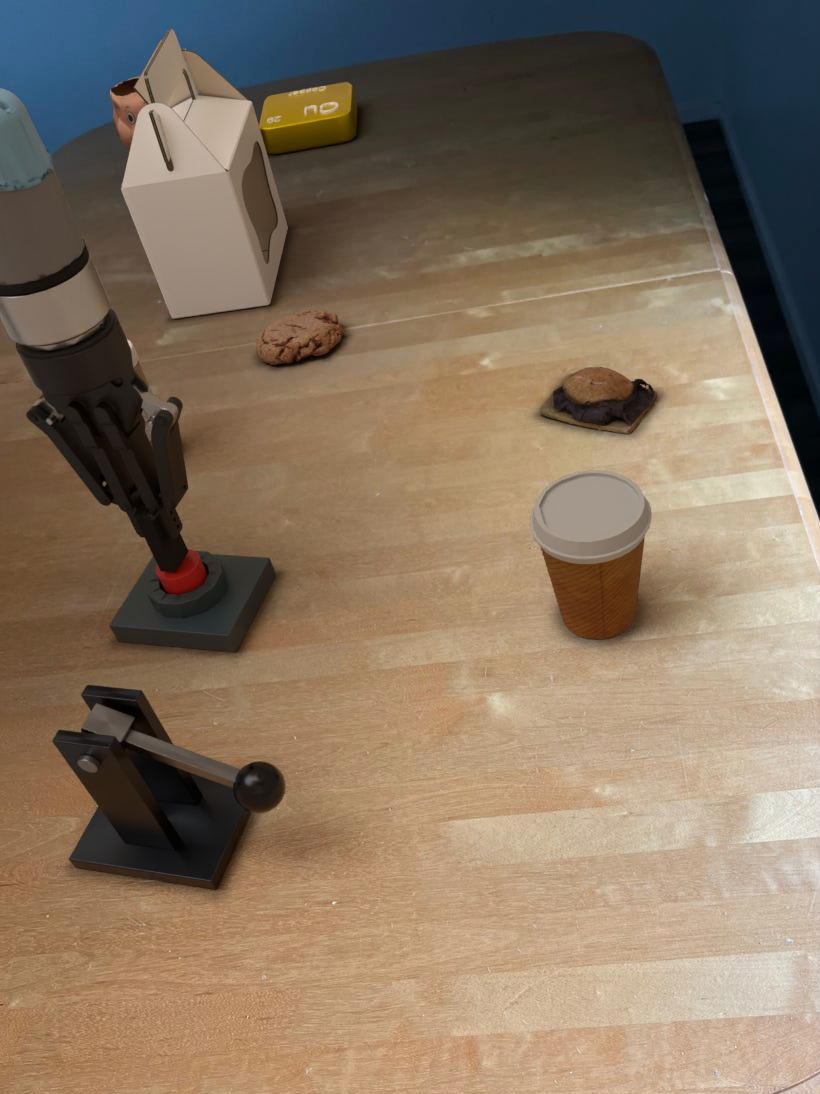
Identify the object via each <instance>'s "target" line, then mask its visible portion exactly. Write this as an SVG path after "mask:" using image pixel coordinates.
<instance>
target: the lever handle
mask: <svg viewBox="0 0 820 1094" xmlns="http://www.w3.org/2000/svg"><path fill="white" fill-rule="evenodd" d="M134 721H135V717H133V716H130V715H127V714H125V713H122V712H119V711H116V710H114V709H111V708H108V707H106V706H103V705H100V704H97V703H96V704H95V706H94V707H93V709H92V711H91V710H90V712H89V714H88V715H87V717H86V719H85V720H84V722H83V724H82V725H81V727H80V732H83V733H92V734H100V735H109V736H115V737H116V738H117V739H118V741H119V743H120V744H121V746H122V747H123V749H124V750H126V749H127V750H130V751H133V752H136V753H138V754H141V755H144V756H146V757H149V758H152V759H155V760H157V761H160V762H163V763H165V764H168V765H171V766H174V767H176V768H179V769H182V770H185V771H187V772H190V773H193V774H195V775H198V776H201V777H204V778H206V779H209V780H212V781H214V782H217V783H220V784H223V785H225V786H228V787H231V788H233V794H234V797H235V799H236V801H237V803H238V804H239V805H240V806H241V807H242V808H243V809H245V810H246V811H249V812H251V813H252V814H265V813H268V812H271V811H272V810H274V809H275V808H277V807H278V806H279V805H280V804H281V802H282V801H283V800H284V797H285V795H286V789H287V787H286V786H287V784H286V778H285V776H284V774H283V773H282V771H281V770H280V769H279V767H277V766H276V765H275V764H273V763H271V762H268V761H265V760H257V761H252V762H249V763H247V764H245V765H244V766H242V767H241V768H238V767H236V766H233V765H230V764H227V763H224V762H221V761H220V760H216V759H214V758H211V757H208V756H205V755H203V754H200V753H198V752H195V751H192V750H189V749H187V748H184V747H181V746H178V745H176V744H174V743H173V744H170V743H168V742H165V741H162V740H159V739H157V738H154V737H151V736H149V735H146V734H143V733H140V732H138V731H135V730H134Z"/></svg>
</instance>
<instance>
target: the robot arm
mask: <svg viewBox="0 0 820 1094" xmlns="http://www.w3.org/2000/svg"><path fill="white" fill-rule="evenodd" d="M54 163H55V162H54V161H53V157H52V155H51V153H50V151H49V149H48V148H47V147H46V145H45V144H44V143H43V141H42V139H41V136H40V135H39V133H38V130H37V129H36V126H35V125H34V122H33V121H32V118H31V116H30V114H29V112H28V110H27V108H26V106H25V104H24V102H22V100H21V99H20V98H19V97H18V96H17V95H16V94H14V93H13V92H11V91H10V90H7V89H5V88H2V87H0V320H1V322H2V325H3V326H4V328H5V331H6V332H7V333H6V334H7V335H8V336H9V338H10V339H11V340H12V341H14V342H15V349H16V352H17V354H18V355H19V357H20V359H21V361H22V363H23V365H24V367H25V369H26V371H27V373H28V375H29V377H30V379H31V380H32V383H33V384H34V385H35V387H36V388H37V389H38V390H40V391H41V393H42V394H41V395H40V397H39V398H38V399H36V401H35V402H34V403H33V404H32V405H31V407H30V408H29V409H28V410H27V412H26V413H25V415H26V418H27V419H28V421H29V422H31V423H32V424H33V425H34V426H35V427H36V428H37V429H39V430H40V431H41V432H42V433H43V434H45V435H46V436H47V437H48V438H49V440H50V441H51V442H52V444H53V445H54V446H55V448H56V449H57V450H58V451H59V453H60V455H62V457H63V458H64V459H65V460H66V462H67V463H68V465H69V466H70V467H71V468H72V469H73V471H74V472H75V473H76V475H77V476H78V477H79V479H80V480H81V481H82V483H83V484H84V485H85V486H86V488H87V489H88V490H89V492H90V493H91V494H92V496H93V497H94V498H95V500H96V501H97V502H98V504H100V505H102V506H104V507H108V506H110V505H111V504H113V505H116V506H118V508H119V509H120V510H121V511H122V512H124V513H126V515H127V517H128V519H129V521H130V523H131V525H132V527H133V529H134V532H135V533H136V535H137V536H139V538H144V539H145V542H146V544H147V546H148V548H149V550H150V553H151V554H152V557H153V556H154V558H155V560H156V562H157V564H158V566H159V568H160V570H161V571H164V572H177V570H178V568H179V567H180V565H181V563H182V562H183V560H184V558H185V557H186V555H187V553H188V552H189V551H188V549H189V548H188V547H187V545H186V542H185V541H184V538H183V536H182V533H181V531H182V530H183V525H184V524H183V522H182V519H181V518H180V515H179V513H178V511H177V507H178V505H179V504H180V502H181V501H182V499H184V496H185V495H186V494H187V492H188V490H189V482H188V475H187V469H186V461H185V455H184V449H183V442H182V436H181V431H180V423H179V421H180V417H181V414H182V411H183V407H184V404H183V402H182V400H181V399H180V398H178V397H176V396H170V397H168V399H167V400H165V399H162V398H161V397H159V396H157V395H153V394H154V393H153V394H151V393H149V392H148V387H147V385H146V383H145V382H144V381H143V380H142V379H141V378H140V377H139V376H138V374H137V373H136V372H135V370H134V368H133V362H132V353H131V348H130V345H129V343H128V341H127V340H128V338H127V337H126V334H125V331H124V330H123V327H122V325H121V322H120V320H119V318H118V315H117V313H116V312H115V310H113V309H112V308H110V307H111V300H110V297H109V295H108V292H107V290H106V288H105V286H104V284H103V281H102V279H101V277H100V273H99V272H98V269H97V267H96V265H95V263H94V261H93V258H92V256H91V253H90V251H89V249H88V247H87V244H86V242H85V239H84V238H83V237H82V235H81V232H80V230H79V227H78V224H77V222H76V220H75V218H74V215H73V213H72V210H71V208H70V205H69V203H68V200H67V197H66V195H65V193H64V190H63V188H62V185H61V182H60V180H59V177H58V174H57V172H56V169H55V167H54ZM143 410H144V411H145V412H146V415H147V420H148V422H147V423H145V420H144V418H143V416H142V411H143ZM146 424H147V426H148V427H149V428H152V430H151V442H152V446H151V443H150V441H149V439H148V437H147V435H146V432H145V427H146ZM152 447H153V448H152ZM104 483H105V484H104Z"/></svg>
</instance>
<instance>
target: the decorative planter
mask: <svg viewBox="0 0 820 1094" xmlns="http://www.w3.org/2000/svg"><path fill="white" fill-rule="evenodd" d="M140 76H141V75H139V76H135V77H131V78H128V79H126V80H123V81H121V82H119V83H117V84H115V85H114V86H112V87H110V90H109V98H110V101H111V104H112V106H113V110H112V120H113V124H114V129H115V130H116V134H117V136H118V138H119V139H120V141H121V143H122V144H123V145H124V147H126V148H127V149H128V150H129V151H130V148H131V143H132V139H133V134H134V130H135V126H136V121H137V117H138V114H139V112H140V110H141V109H142V108H143V107H145V106H146V105H147V104H146V103H145V101H144V100H143V99H142V98H141V97H140V96H139V94H138V93H137V92H136V91H135V90H134V89H133V88H134V86H135V84H136V83H137V81H138V79H139V77H140Z"/></svg>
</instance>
